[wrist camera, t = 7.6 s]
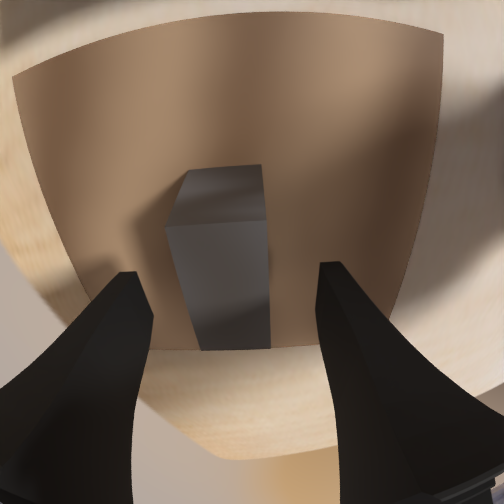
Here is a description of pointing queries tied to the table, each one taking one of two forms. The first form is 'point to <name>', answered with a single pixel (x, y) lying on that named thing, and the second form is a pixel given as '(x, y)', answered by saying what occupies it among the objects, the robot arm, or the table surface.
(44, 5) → the table surface
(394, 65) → the lid
